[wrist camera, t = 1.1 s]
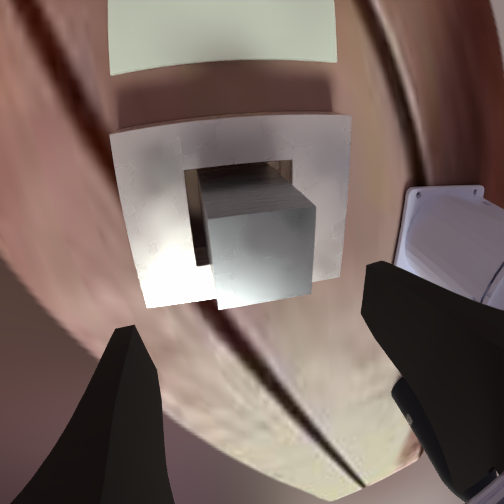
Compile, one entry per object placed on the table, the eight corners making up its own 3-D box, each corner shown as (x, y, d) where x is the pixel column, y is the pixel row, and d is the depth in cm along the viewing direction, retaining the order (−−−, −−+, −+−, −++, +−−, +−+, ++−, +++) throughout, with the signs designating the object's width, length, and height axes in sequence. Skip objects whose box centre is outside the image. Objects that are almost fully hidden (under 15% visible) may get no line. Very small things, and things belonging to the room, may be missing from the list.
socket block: (332, 111, 17) (351, 115, 15) (325, 260, 22) (339, 277, 20) (118, 129, 15) (109, 134, 13) (148, 286, 20) (147, 307, 18)
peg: (267, 163, 18) (316, 206, 12) (269, 227, 19) (311, 293, 13) (197, 170, 17) (207, 219, 11) (204, 236, 19) (218, 309, 13)
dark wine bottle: (436, 369, 35) (540, 529, 9) (402, 400, 37) (494, 560, 11) (421, 358, 32) (540, 544, 7) (383, 393, 34) (485, 579, 8)
